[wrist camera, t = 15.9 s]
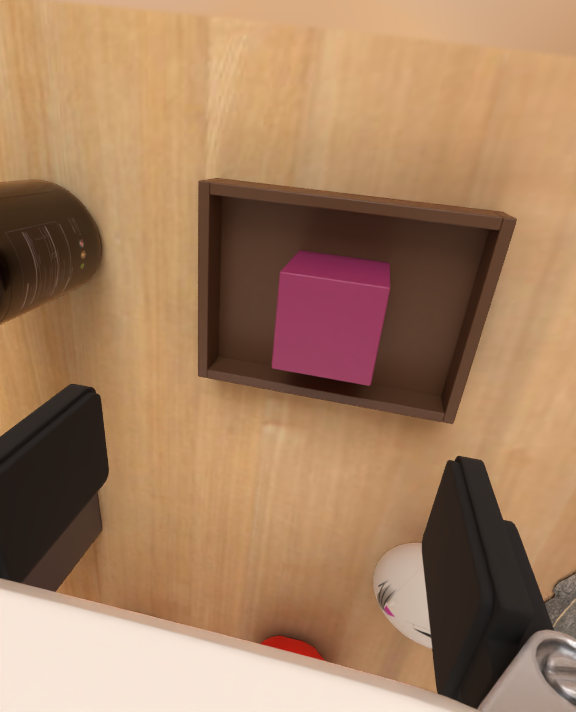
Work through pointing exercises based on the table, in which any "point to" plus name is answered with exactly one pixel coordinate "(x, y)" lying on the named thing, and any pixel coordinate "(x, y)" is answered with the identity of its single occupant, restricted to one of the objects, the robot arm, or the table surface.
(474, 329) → the tray
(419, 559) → the figurine
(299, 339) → the top block
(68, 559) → the bottom block
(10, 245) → the supplement bottle
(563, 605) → the sculpture
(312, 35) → the table surface
